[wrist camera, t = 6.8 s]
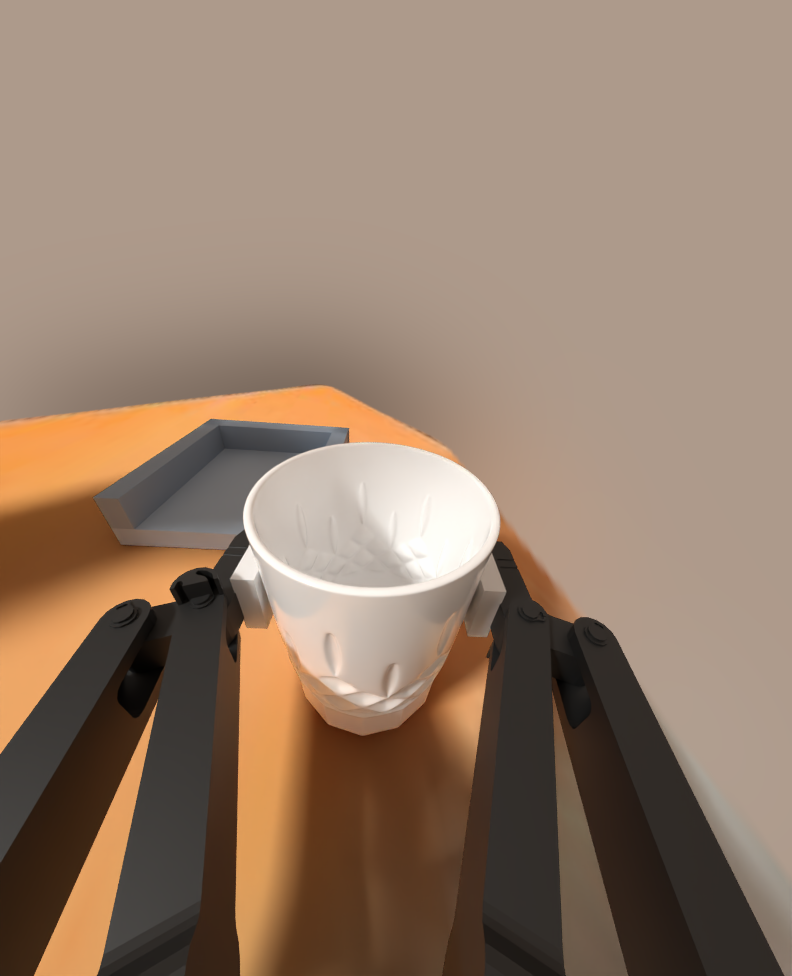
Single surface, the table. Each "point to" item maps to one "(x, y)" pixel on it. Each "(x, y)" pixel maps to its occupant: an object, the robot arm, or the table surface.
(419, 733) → the table surface
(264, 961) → the table surface
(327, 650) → the white cup
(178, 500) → the dock
